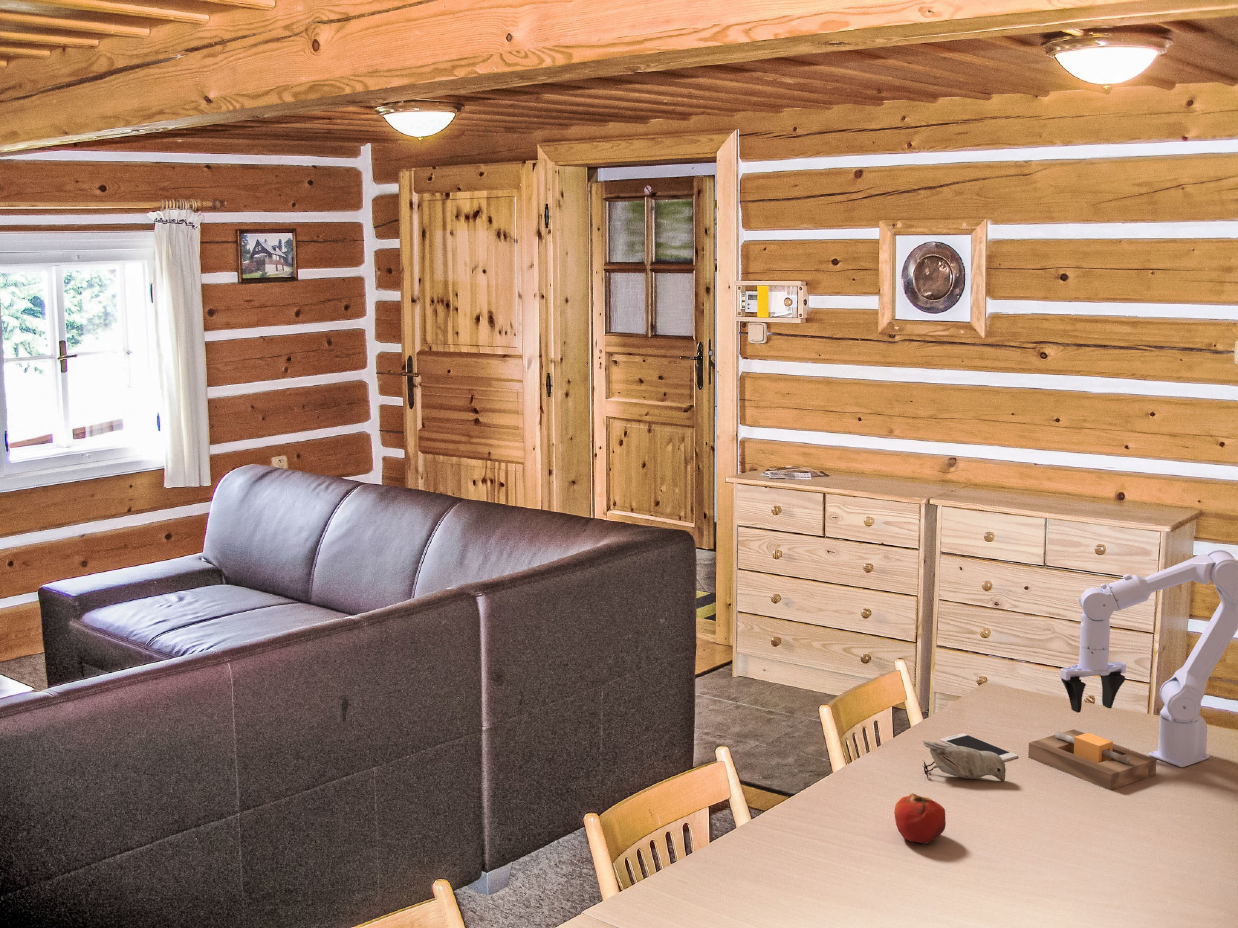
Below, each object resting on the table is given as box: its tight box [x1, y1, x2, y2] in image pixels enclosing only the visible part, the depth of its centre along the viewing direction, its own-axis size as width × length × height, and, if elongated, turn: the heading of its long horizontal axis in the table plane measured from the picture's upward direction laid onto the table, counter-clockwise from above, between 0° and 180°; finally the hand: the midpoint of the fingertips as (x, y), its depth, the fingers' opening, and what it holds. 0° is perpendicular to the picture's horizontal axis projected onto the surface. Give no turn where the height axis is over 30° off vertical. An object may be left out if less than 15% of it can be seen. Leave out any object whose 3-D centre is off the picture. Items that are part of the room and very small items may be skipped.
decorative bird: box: [921, 740, 1007, 783], centre depth 250 cm, size 5×16×7 cm, turn 76°
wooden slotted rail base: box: [1028, 728, 1158, 791], centre depth 256 cm, size 14×20×5 cm
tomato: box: [893, 792, 947, 844], centre depth 224 cm, size 9×9×8 cm
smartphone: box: [940, 732, 1019, 763], centre depth 266 cm, size 7×16×1 cm, turn 31°
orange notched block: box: [1074, 732, 1114, 763], centre depth 255 cm, size 4×6×5 cm
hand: (1091, 708), depth 262 cm, fingers open, 7 cm apart
